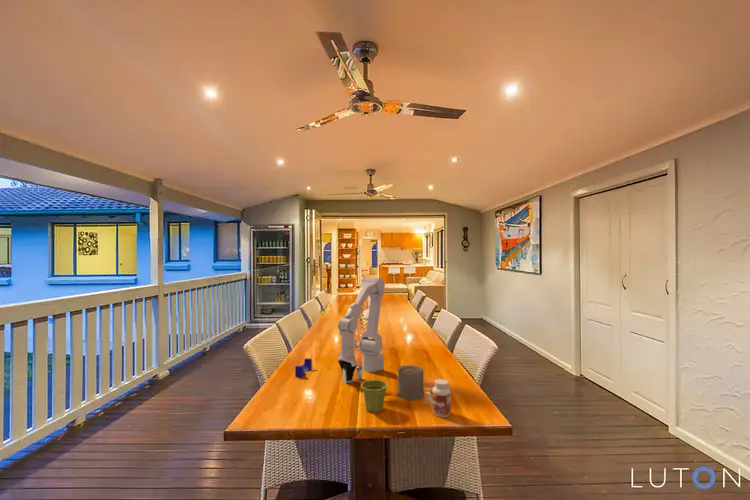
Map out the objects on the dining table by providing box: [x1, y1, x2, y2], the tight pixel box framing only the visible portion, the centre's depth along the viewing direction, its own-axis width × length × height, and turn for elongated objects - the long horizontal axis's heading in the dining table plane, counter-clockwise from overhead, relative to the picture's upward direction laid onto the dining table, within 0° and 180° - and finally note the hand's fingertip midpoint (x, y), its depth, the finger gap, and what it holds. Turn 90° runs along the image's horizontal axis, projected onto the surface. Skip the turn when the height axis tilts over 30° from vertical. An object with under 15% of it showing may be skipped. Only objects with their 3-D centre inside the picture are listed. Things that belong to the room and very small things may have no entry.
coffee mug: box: [397, 364, 424, 401], centre depth 137 cm, size 13×10×10 cm
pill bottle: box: [432, 378, 452, 418], centre depth 119 cm, size 6×6×11 cm
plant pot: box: [360, 379, 388, 413], centre depth 123 cm, size 9×9×9 cm
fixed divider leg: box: [355, 365, 363, 381], centre depth 148 cm, size 3×3×6 cm
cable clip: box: [294, 357, 313, 378], centre depth 156 cm, size 12×4×6 cm, turn 169°
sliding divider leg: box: [341, 367, 354, 384], centre depth 145 cm, size 3×4×6 cm
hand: (347, 378), depth 145 cm, fingers closed on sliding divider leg, 4 cm apart
